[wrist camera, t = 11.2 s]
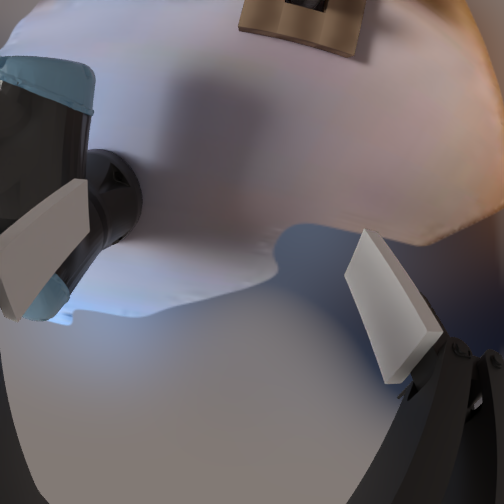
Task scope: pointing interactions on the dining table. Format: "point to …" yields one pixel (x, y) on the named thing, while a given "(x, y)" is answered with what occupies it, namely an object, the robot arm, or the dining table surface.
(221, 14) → the dining table surface
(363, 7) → the socket block
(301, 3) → the peg
